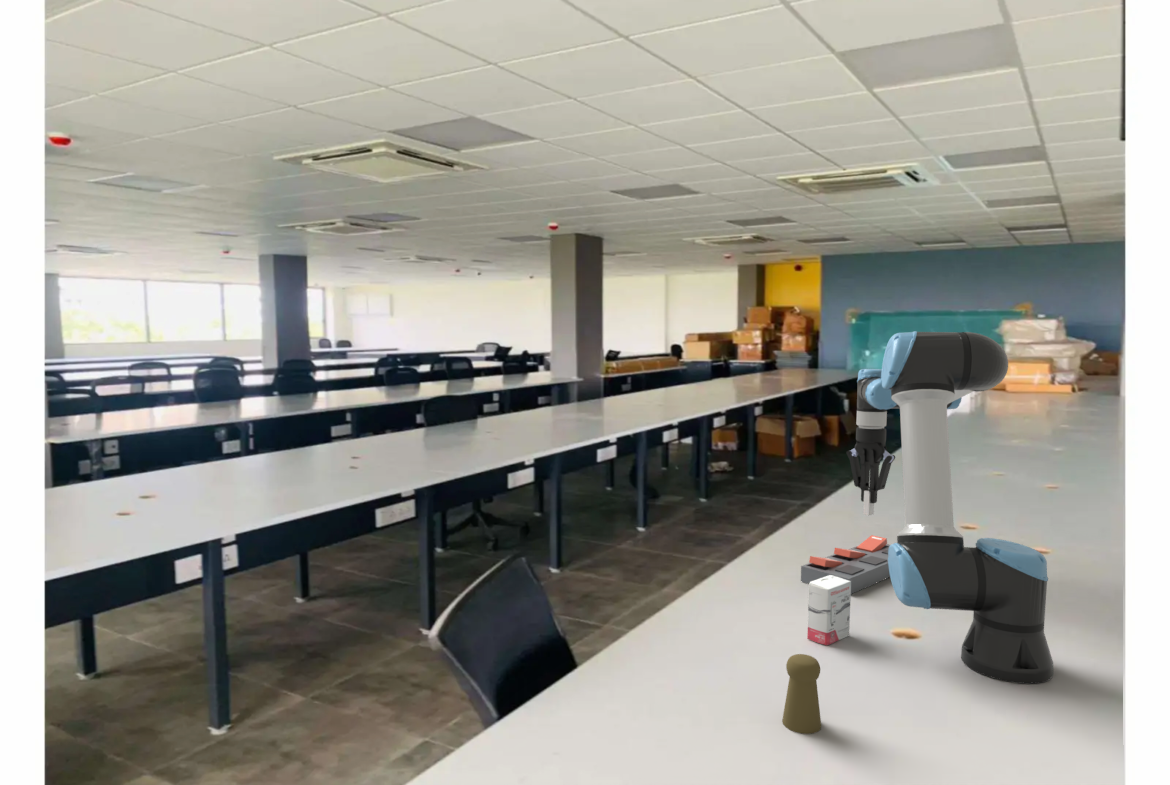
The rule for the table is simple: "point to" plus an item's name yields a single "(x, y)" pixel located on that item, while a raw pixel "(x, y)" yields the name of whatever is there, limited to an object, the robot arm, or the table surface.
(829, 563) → the rocker
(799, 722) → the olive brown peg figure
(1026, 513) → the table surface
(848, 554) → the rocker
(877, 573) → the power strip
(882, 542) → the rocker
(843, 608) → the ink box
